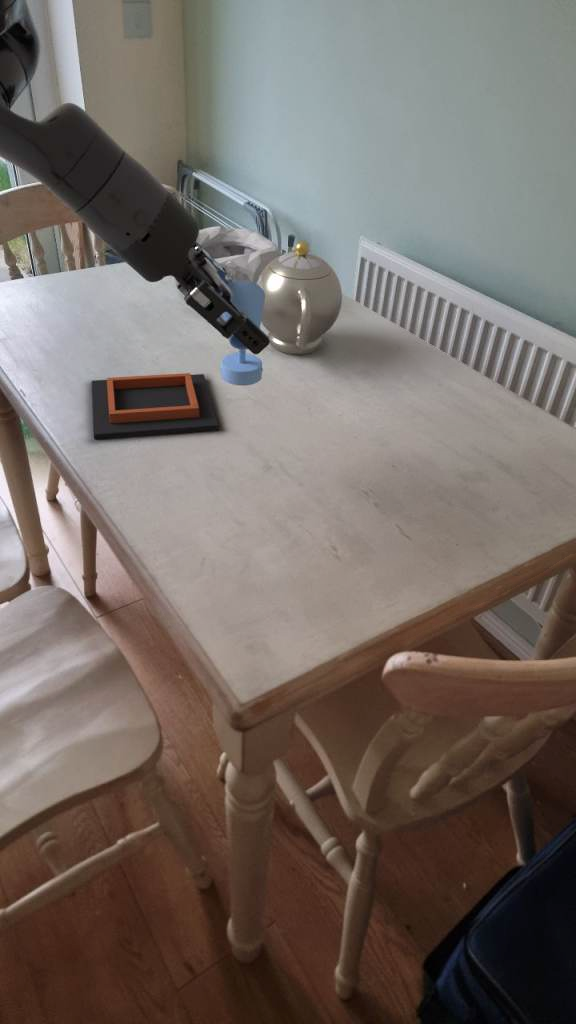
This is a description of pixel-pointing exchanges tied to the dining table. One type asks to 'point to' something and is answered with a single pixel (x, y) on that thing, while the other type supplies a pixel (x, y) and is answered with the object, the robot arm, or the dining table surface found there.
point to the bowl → (238, 251)
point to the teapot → (299, 300)
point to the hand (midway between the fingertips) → (256, 331)
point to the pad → (151, 405)
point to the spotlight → (240, 364)
